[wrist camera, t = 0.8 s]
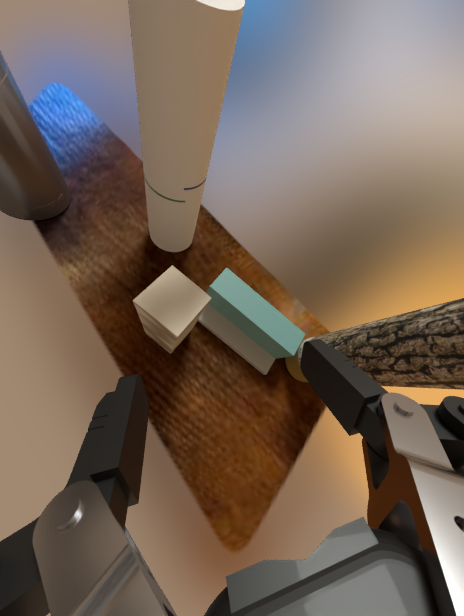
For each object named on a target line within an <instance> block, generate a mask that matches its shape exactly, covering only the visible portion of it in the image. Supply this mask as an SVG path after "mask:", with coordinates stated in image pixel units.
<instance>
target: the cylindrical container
mask: <svg viewBox="0 0 464 616" xmlns="http://www.w3.org/2000/svg"><path fill="white" fill-rule="evenodd" d="M128 2H129V14H130V24H131V36H132V46H133V58H134V69H135V80H136V91H137V102H138V112H139V124H140V135H141V146H142V157H143V168H144V179H145V190H146V201H147V212H148V223H149V233H150V237H151V240H152V241H153V243H154V244H155V245H156V246H158V247H159V248H161V249H163V250H165V251H168V252H180V251H183V250H185V249H187V248H188V247H189V246H190V245H191V243H192V240H193V235H194V231H195V226H196V222H197V217H198V213H199V208H200V204H201V199H202V194H203V189H204V185H205V181H206V176H207V171H208V167H209V162H210V158H211V154H212V149H213V145H214V140H215V136H216V131H217V127H218V122H219V118H220V113H221V109H222V104H223V100H224V95H225V90H226V86H227V81H228V76H229V72H230V68H231V63H232V58H233V54H234V49H235V45H236V40H237V35H238V31H239V27H240V22H241V17H242V13H243V8H244V4H245V0H128Z"/></svg>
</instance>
